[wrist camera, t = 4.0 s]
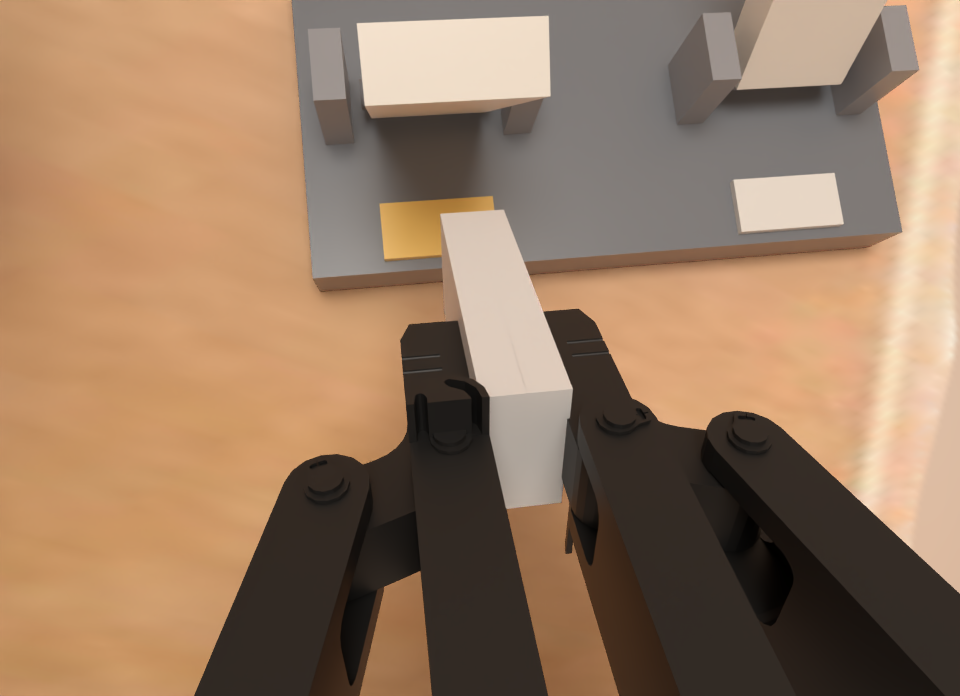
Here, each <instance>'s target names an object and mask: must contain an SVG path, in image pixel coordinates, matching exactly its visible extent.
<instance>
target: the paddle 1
mask: <svg viewBox="0 0 960 696" xmlns="http://www.w3.org/2000/svg"><path fill="white" fill-rule="evenodd" d="M357 32H358V42H359V52H360V63H361V73H362V79H359V89H360V99H361V107H362V110H367V111H368V113H369V115H370V117H371V118H389V117H408V116H426V115H445V114H463V113H482V112H489V111H493V110H497V109H501V108H505V107H509V106H513V105H517V104H522V103H526V102H530V101H534V100H538V99H542V98H546V97H550V96H551V93H550V50H549V16H528V17H502V18H477V19H451V20H425V21H400V22H374V23H357Z"/></svg>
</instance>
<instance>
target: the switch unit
mask: <svg viewBox="0 0 960 696" xmlns="http://www.w3.org/2000/svg"><path fill="white" fill-rule="evenodd" d="M744 3H745V0H292V10H293V23H294V36H295V50H296V63H297V76H298V89H299V102H300V116H301V129H302V142H303V155H304V169H305V182H306V195H307V208H308V221H309V235H310V248H311V261H312V274H313V280H314V281H315V283H316V285H317V287H318V288H319V290H320V291H331V290H343V289H356V288H368V287H381V286H393V285H405V284H418V283H430V282H443V274H442V249H441V224H440V214H444V213H459V212H474V211H489V210H504V212H505V214H506V217H507V219H508V222H509V225H510V227H511V230H512V232H513V235H514V238H515V240H516V243H517V245H518V248H519V250H520V253H521V256H522V258H523V261H524V263H525V266H526V269H527V271H528V274H542V273H554V272H566V271H579V270H591V269H604V268H616V267H628V266H641V265H653V264H666V263H678V262H690V261H703V260H715V259H728V258H740V257H752V256H765V255H777V254H790V253H802V252H814V251H827V250H839V249H851V248H864V247H870V246H872V245H874V244H877V243H879V242H881V241H883V240H886V239H888V238H890V237H892V236H895V235H897V234H899V233H901V232H902V228H901V223H900V217H899V212H898V207H897V202H896V197H895V192H894V186H893V181H892V176H891V171H890V166H889V161H888V156H887V150H886V145H885V140H884V135H883V130H882V125H881V119H880V114H879V109H878V104H877V101H878V100H880V99H881V98H882V97H884V96H885V95H886V94H888V93H889V92H890V91H892V90H893V89H894V88H896V87H897V86H898V85H900V84H901V83H902V82H904V81H905V80H906V79H908V78H909V77H910V76H912V75H913V74H914V73H916V72H917V71H918V70H919V66H918V61H917V56H916V51H915V46H914V42H913V37H912V32H911V27H910V22H909V17H908V12H907V7H906V5H901V6H884V7H883V9H882V11H881V13H880V15H879V16H878V18H877V20H876V22H875V24H874V25H873V27H872V29H871V31H870V33H869V35H868V36H867V38H866V40H865V42H864V44H863V45H862V47H861V49H860V51H859V53H858V55H857V56H856V58H855V60H854V62H853V64H852V65H851V67H850V69H849V71H848V73H847V76H846V78H845V80H844V81H843V83H842V84H839V85H824V86H805V87H786V88H767V89H748V90H732V89H733V88H734V87H735V86H736V85H737V84H738V83H739V82H740V80H741V79H742V76H741V70H740V64H739V58H738V52H737V46H736V40H735V34H734V30H735V27H736V24H737V22H738V19H739V16H740V14H741V11H742V8H743V6H744ZM528 16H549V50H550V93H551V96H550V97H546V98H542V99H538V100H534V101H530V102H526V103H522V104H517V105H513V106H509V107H505V108H501V109H497V110H493V111H489V112H482V113H463V114H445V115H426V116H408V117H389V118H371V117H370V115H369V113H368V111H367V110H362V107H361V99H360V89H359V79H362V73H361V63H360V52H359V42H358V32H357V23H374V22H400V21H425V20H451V19H477V18H502V17H528Z"/></svg>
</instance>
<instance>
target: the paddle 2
mask: <svg viewBox="0 0 960 696" xmlns="http://www.w3.org/2000/svg"><path fill="white" fill-rule="evenodd" d="M886 2H887V0H745V3H744V6H743V8H742V11H741V14H740V16H739V19H738V22H737V24H736V27H735V30H734V34H735V40H736V46H737V52H738V58H739V64H740V70H741V76H742V79H741V80H740V82H739V83H738V84H737V85H736V86H735V87H734V88H733V89H732V90H748V89H767V88H786V87H805V86H824V85H839V84H842V83H843V81H844V80H845V78H846V76H847V73H848V71H849V69H850V67H851V65H852V64H853V62H854V60H855V58H856V56H857V55H858V53H859V51H860V49H861V47H862V45H863V44H864V42H865V40H866V38H867V36H868V35H869V33H870V31H871V29H872V27H873V25H874V24H875V22H876V20H877V18H878V16H879V15H880V13H881V11H882V9H883V7H884V5H885V4H886Z"/></svg>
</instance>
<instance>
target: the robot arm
mask: <svg viewBox="0 0 960 696" xmlns="http://www.w3.org/2000/svg"><path fill="white" fill-rule="evenodd" d="M440 224H441V249H442V274H443V299H444V314H445V320H446V321H445V322H433V323H421V324H409V326H408V328H407V329H406V331H405V333H404V335H403V336H402V338H401V340H400V342H401V354H402V365H403V377H404V388H405V399H406V411H407V422H408V425H407V433H406V435H405V437H404V439H403V441H402V442H401V443H400V444H399V446H398V447H397V448H396V449H394V450H393V451H392V452H390V453H389V454H388V455H386V456H384V457H381V458H379V459H377V460H375V461H372V462H369V463H367V464H364V465H363V464H361V463H360V462H358V461H357V460H355V459H354V458H352V457H348V456H343V455H339V454H334V455H321V456H318V457H315V458H313V459H310V460H307V461H305V462H304V463H302V464H301V465H299V466H298V467H297V468H295V469H294V470H293V471H292V472H291V473H290V475H289V476H288V478H287V479H286V481H285V482H284V484H283V487H282V489H281V491H280V494H279V496H278V499H277V501H276V503H275V506H274V508H273V510H272V513H271V515H270V517H269V520H268V522H267V525H266V527H265V529H264V532H263V534H262V536H261V539H260V541H259V543H258V546H257V548H256V551H255V553H254V555H253V558H252V560H251V562H250V565H249V567H248V569H247V572H246V574H245V577H244V579H243V581H242V584H241V586H240V588H239V591H238V593H237V596H236V598H235V600H234V603H233V605H232V607H231V610H230V612H229V614H228V617H227V619H226V622H225V624H224V626H223V629H222V631H221V633H220V636H219V638H218V640H217V643H216V645H215V648H214V650H213V652H212V655H211V657H210V659H209V662H208V664H207V666H206V669H205V671H204V674H203V676H202V678H201V681H200V683H199V685H198V688H197V690H196V692H195V695H194V696H359V695H360V690H361V686H362V682H363V678H364V673H365V669H366V665H367V661H368V656H369V652H370V648H371V643H372V639H373V635H374V631H375V626H376V622H377V618H378V613H379V609H380V605H381V601H382V596H383V592H384V587H385V586H387V585H389V584H391V583H394V582H396V581H398V580H401V579H403V578H405V577H407V576H410V575H412V574H414V573H416V572H419V571H421V580H422V591H423V602H424V613H425V624H426V635H427V645H428V656H429V667H430V678H431V689H432V696H548V693H547V689H546V684H545V680H544V675H543V671H542V666H541V662H540V657H539V653H538V648H537V644H536V640H535V635H534V631H533V626H532V622H531V617H530V613H529V608H528V604H527V599H526V595H525V591H524V586H523V582H522V577H521V573H520V568H519V564H518V559H517V555H516V550H515V546H514V542H513V537H512V533H511V528H510V524H509V519H508V515H507V510H506V509H510V508H519V507H527V506H536V505H545V504H554V503H561V501H562V491H563V484H564V487H565V490H566V493H567V496H568V499H569V512H568V521H567V530H566V539H565V553H566V554H569V553H572V545H573V543H574V546H575V550H576V553H577V556H578V560H579V563H580V566H581V570H582V573H583V576H584V580H585V583H586V586H587V590H588V593H589V596H590V600H591V603H592V606H593V610H594V613H595V616H596V620H597V623H598V626H599V630H600V633H601V636H602V640H603V643H604V646H605V650H606V653H607V656H608V660H609V663H610V666H611V670H612V673H613V676H614V680H615V683H616V686H617V690H618V693H619V696H960V594H959V593H958V592H957V591H956V590H955V589H954V588H953V587H952V586H951V585H950V584H948V583H947V582H946V581H945V580H944V579H943V578H942V577H941V576H940V575H939V574H938V573H937V572H936V571H935V570H933V569H932V568H931V567H930V566H929V565H928V564H927V563H926V562H925V561H924V560H923V559H922V558H921V557H919V556H918V555H917V554H916V553H915V552H914V551H913V550H912V549H911V548H910V547H909V546H908V545H907V544H906V543H904V542H903V541H902V540H901V539H900V538H899V537H898V536H897V535H896V534H895V533H894V532H893V531H892V530H890V529H889V528H888V527H887V526H886V525H885V524H884V523H883V522H882V521H881V520H880V519H879V518H878V517H876V516H875V515H874V514H873V513H872V512H871V511H870V510H869V509H868V508H867V507H866V506H865V505H864V504H862V503H861V502H860V501H859V500H858V499H857V498H856V497H855V496H854V495H853V494H852V493H851V492H850V491H849V490H847V489H846V488H845V487H844V486H843V485H842V484H841V483H840V482H839V481H838V480H837V479H836V478H835V477H833V476H832V475H831V474H830V473H829V472H828V471H827V470H826V469H825V468H824V467H823V466H822V465H821V464H819V463H818V462H817V461H816V460H815V459H814V458H813V457H812V456H811V455H810V454H809V453H808V452H807V451H805V450H804V449H803V448H802V447H801V446H800V445H799V444H798V443H797V442H796V441H795V440H794V439H793V438H792V437H790V436H789V435H788V434H787V433H786V432H785V431H784V430H783V429H782V428H781V427H779V426H778V425H776V424H775V423H774V422H772V421H771V420H769V419H767V418H765V417H762V416H759V415H757V414H754V413H749V412H742V411H733V412H725V413H722V414H720V415H718V416H716V417H714V418H713V419H712V420H711V422H710V423H709V425H708V427H707V430H699V429H691V428H684V427H677V426H673V425H668V424H665V423H662V422H659V421H658V420H657V418H656V416H655V415H654V414H653V413H652V411H651V410H650V409H649V408H648V407H647V406H645V405H643V404H642V403H640V402H638V401H637V400H634V399H632V398H631V396H630V394H629V392H628V390H627V388H626V386H625V383H624V381H623V379H622V377H621V375H620V373H619V371H618V369H617V367H616V365H615V363H614V361H613V359H612V356H611V354H609V350H608V348H607V346H606V344H605V342H604V341H603V338H602V336H601V334H600V332H599V329H598V327H597V325H596V323H595V322H594V321H593V320H592V319H591V318H589V317H588V316H587V315H586V314H584V313H583V312H582V311H581V310H579V309H570V310H558V311H546V312H543V310H542V308H541V305H540V302H539V300H538V297H537V295H536V292H535V289H534V287H533V284H532V282H531V279H530V276H529V274H528V271H527V269H526V266H525V263H524V261H523V258H522V256H521V253H520V250H519V248H518V245H517V243H516V240H515V238H514V235H513V232H512V230H511V227H510V225H509V222H508V219H507V217H506V214H505V212H504V210H489V211H474V212H459V213H444V214H440Z"/></svg>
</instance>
